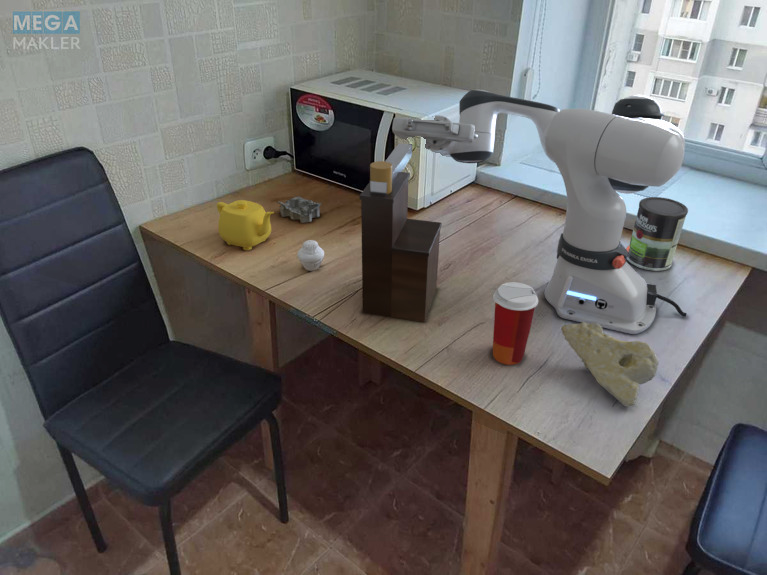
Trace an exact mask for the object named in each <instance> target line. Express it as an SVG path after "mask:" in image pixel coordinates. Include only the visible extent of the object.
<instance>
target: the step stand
mask: <svg viewBox="0 0 767 575" xmlns="http://www.w3.org/2000/svg"><path fill="white" fill-rule="evenodd" d="M410 177H411V172H404V171H402V172H401V174H400V175H399V177H398V178H397V180H396V181H395V183H394V184H393V186H392V192H391V193H389V194H387V195H377V194H370V181H369V182H368V184H367V185H366V187H365V188H364V189H363V191H362V192H361V193H360V195H359V200H360V214H361V215H360V216H361V217H360V218H361V219H360V220H361V285H362V286H361V289H362V290H361V291H362V297H361V298H362V300H361V301H362V313H363V314H369V315H374V316H382V317H388V318H395V319H401V320H407V321H414V322H421V323H426V319H427V317H428V314H429V312H430V308H431V305H432V303H433V300H434V297H435V294H436V292H437V287H438V286H437V284H438V272H439V257H440V256H439V254H440V240H441V239H440V238H441V235H440V234H441V229H442V226H443V225H442V224H443V223H442V222H439V221H433V220H432V221H431V220H422V219H413V218H408V210H409V209H408V208H409V207H408V206H409V179H410Z"/></svg>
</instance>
